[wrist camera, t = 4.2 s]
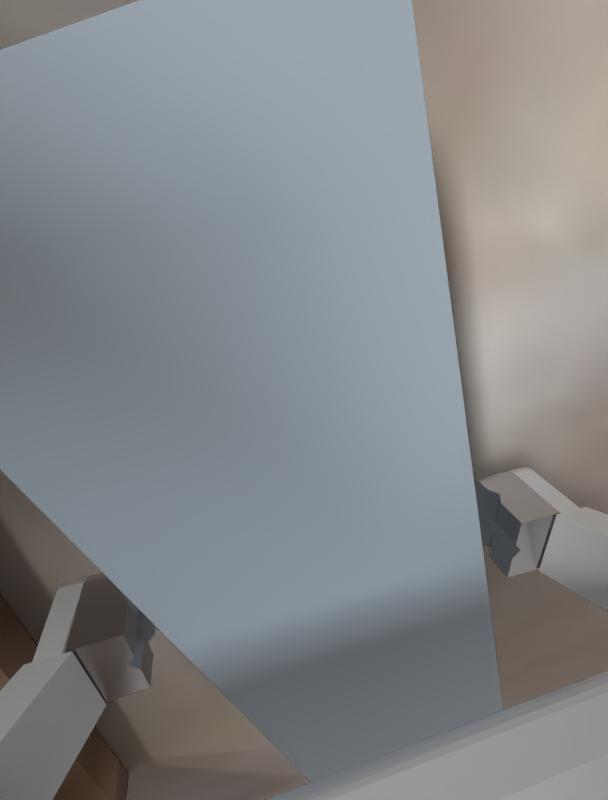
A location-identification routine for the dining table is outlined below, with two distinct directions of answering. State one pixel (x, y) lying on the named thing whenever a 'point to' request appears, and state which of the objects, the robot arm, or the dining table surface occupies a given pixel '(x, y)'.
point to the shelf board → (249, 357)
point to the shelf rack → (95, 764)
